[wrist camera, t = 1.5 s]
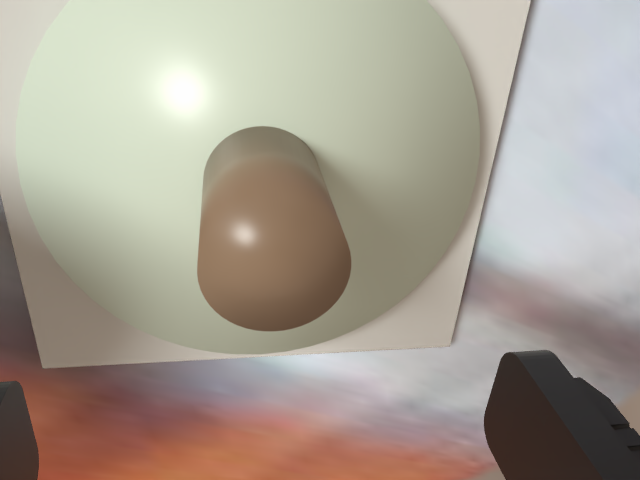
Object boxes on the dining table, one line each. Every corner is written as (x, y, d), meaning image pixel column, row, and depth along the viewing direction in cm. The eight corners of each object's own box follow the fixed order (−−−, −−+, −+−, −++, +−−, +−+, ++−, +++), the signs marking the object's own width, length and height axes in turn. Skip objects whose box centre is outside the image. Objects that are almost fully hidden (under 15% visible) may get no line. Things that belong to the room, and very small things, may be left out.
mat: (544, -99, 16) (553, -99, 16) (445, 338, 24) (450, 346, 23) (-75, -151, 13) (-84, -153, 13) (46, 359, 21) (42, 368, 21)
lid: (511, -61, 16) (650, -46, 11) (431, 328, 23) (492, 449, 18) (-27, -99, 14) (-177, -103, 8) (67, 346, 21) (16, 490, 15)
